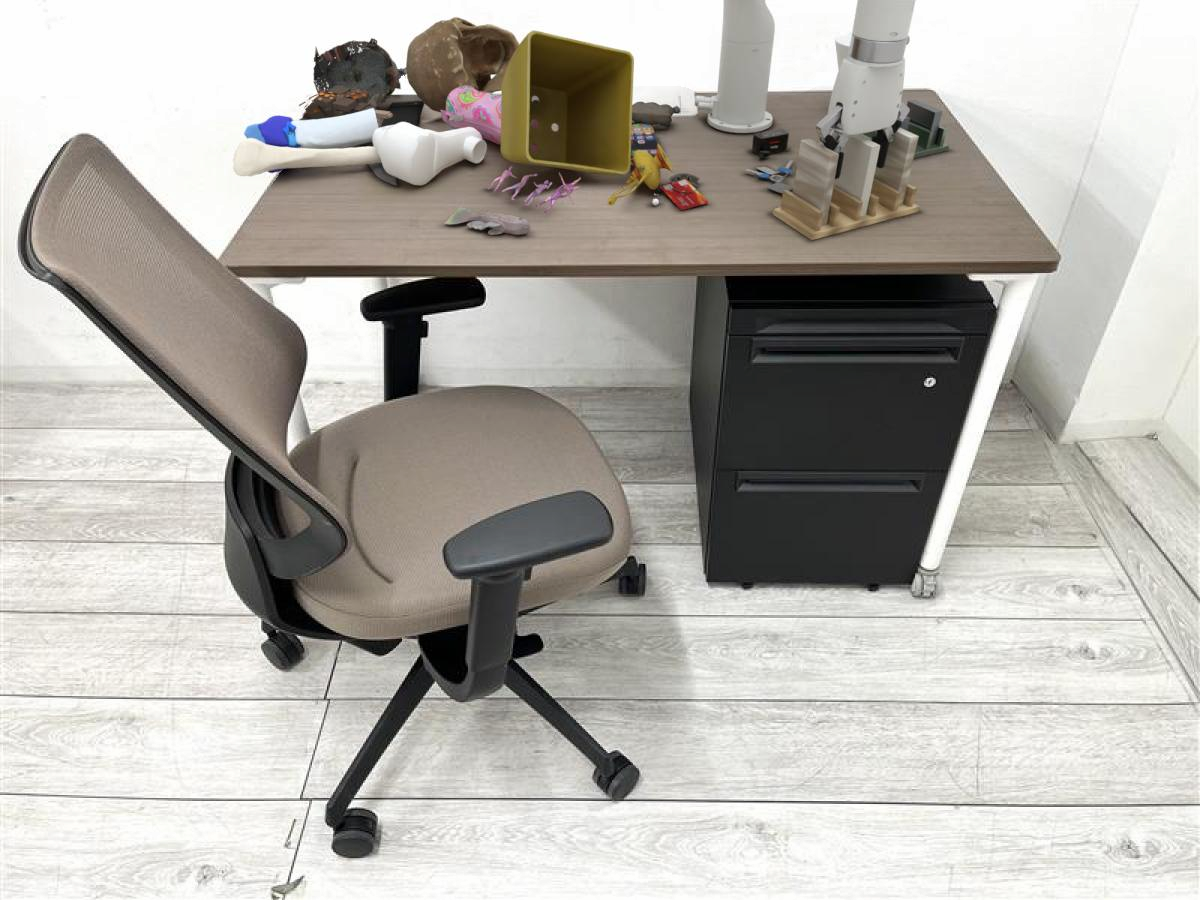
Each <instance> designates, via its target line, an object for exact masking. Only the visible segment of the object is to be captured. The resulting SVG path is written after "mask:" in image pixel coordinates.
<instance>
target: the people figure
mask: <svg viewBox="0 0 1200 900" xmlns="http://www.w3.org/2000/svg"><path fill="white" fill-rule="evenodd" d="M513 169H514V166H513V165H510V166H509V169H506V170H504V171H503V172H502V173H501V176H500V175H499V176H498V177H497V178H495V179H493V180H492V182H491V184H490V186H489V187H486V189H487V190H489V191H490V190H491V188H493V186H494V185H495V183H498V184H497V186H496V187H495V189H493V192H494V193H495V192H497V190H498V189H499V188H500V187H501V185H502V183H504V181H506V180H507V178H509V177H512V178H516V179H517V178H518V176H515V175H514V174H513V172H512V170H513ZM538 176H539V175H538V173H534V174H526V175H524V176H523V177H522V179H521V181H520V182H518V183H516V184H514V185H512V186H509V187H506V188H504V189H503V190H501V192H502V193H506V191H509V190H514V189H515V192H514V194H513V195H512V197H511V198H510V199H511V200H512V201H515V197H516V196H517V195H518V194H519V193H520V191H521V189H522V188H524V186H525V185H527V181H528V180H529V178H530V177H538ZM558 176H559V177H560V180H561V182H562V184H561V185H560V186H559V187H558V188H557V189H555V192H554V194H551V195H550V196H548V197H546V198H545V200H542V201H540V202H539V203H538V204H535V207H536V208H537V207H539V206H541V205H543V204H546V203H548V202H550V205H549V206H548V207H547V208H546V209H545V210H543V213H545V214H547V212H548V211H549V210H551V209H552V208H553V206H554V205H555V202H556V201H557V200H558V199H564V198H567V197H568V198H569V200H570V201H571V204H572V205H573V206H575V204H574V201H573V197H572V196H571V194H572V193H573V192H574V190H578V189H579V188H581V186H580V185H578V186H574V185H576V184H577V183H578V182H579V181H580V180H581V177H579V178H578V179H576V180H574V181H573V182H571V183H565V181H564V178H563V176H562V175H561V172H558ZM533 184H534V186H535V187H536V188H535V189H534V190H533V191H532V192H531V193H530V194H529V195H528V196H527V198H526V199H524V200H523V202H524V205H525V206H526V207H528V206H529V205H530V204H531V203H533V201H534V199H535V198H536V197H537V196H540V194H541V193H542V191H544V190H545V189H547V190H549V188H550V187H551V186H552V185H553V181H550V182H549V180H548V179H545V180H544V182H543V183H539V184H537V183H536V181H533ZM573 186H574V187H573ZM563 193H566V194H563ZM528 200H529V201H528ZM527 202H528V203H527Z"/></svg>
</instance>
